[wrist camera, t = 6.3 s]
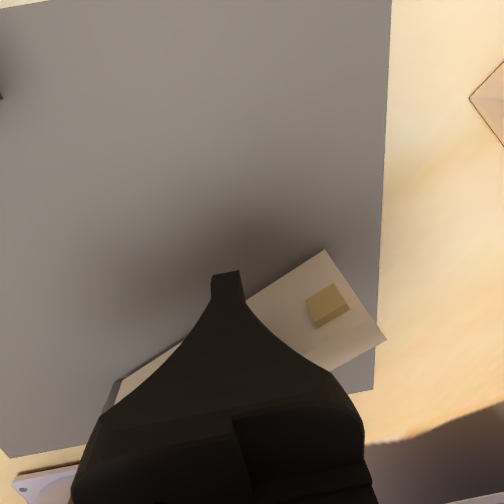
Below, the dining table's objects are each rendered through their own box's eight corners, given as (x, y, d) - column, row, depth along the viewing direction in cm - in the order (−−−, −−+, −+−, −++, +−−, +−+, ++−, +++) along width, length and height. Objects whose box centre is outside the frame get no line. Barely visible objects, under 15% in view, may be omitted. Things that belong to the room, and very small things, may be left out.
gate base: (366, 375, 19) (373, 389, 18) (20, 441, 19) (10, 458, 18) (378, -45, 10) (394, -59, 9) (-304, 72, 10) (-358, 70, 9)
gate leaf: (128, 402, 16) (96, 510, 12) (101, 385, 16) (58, 493, 11) (339, 271, 14) (393, 348, 10) (320, 242, 13) (369, 313, 9)
